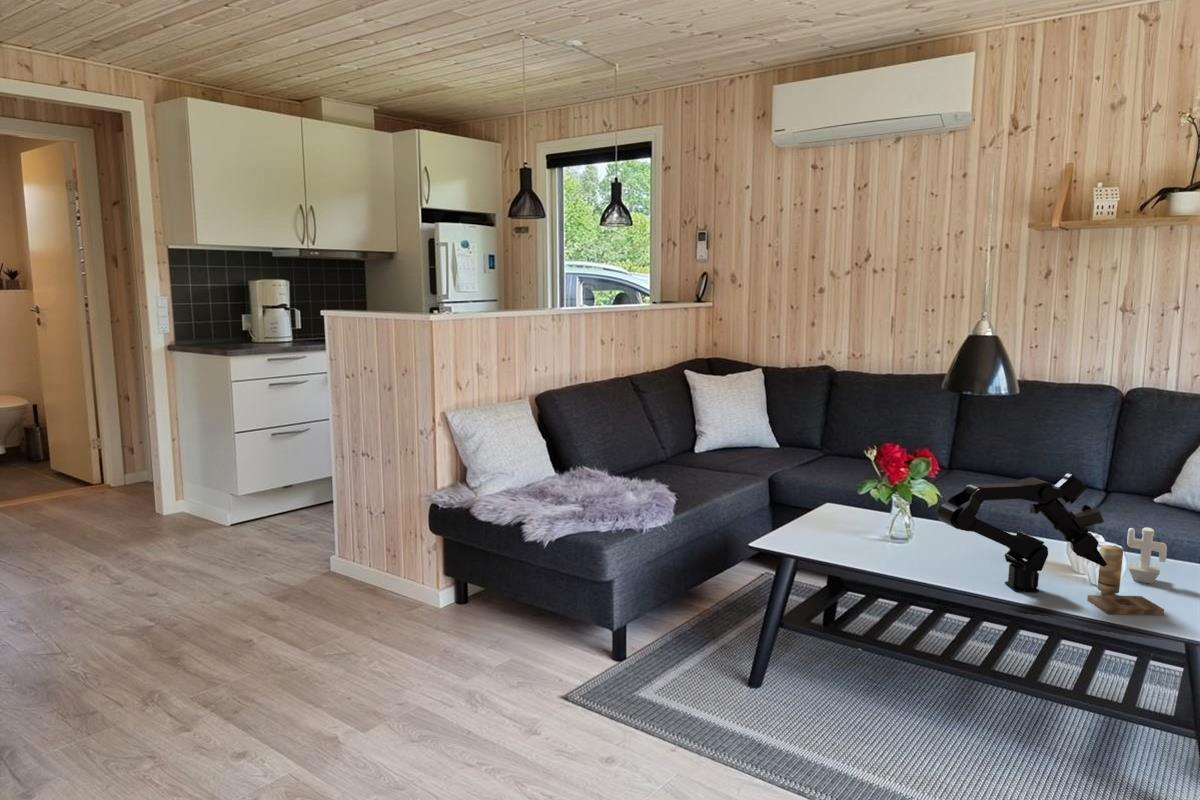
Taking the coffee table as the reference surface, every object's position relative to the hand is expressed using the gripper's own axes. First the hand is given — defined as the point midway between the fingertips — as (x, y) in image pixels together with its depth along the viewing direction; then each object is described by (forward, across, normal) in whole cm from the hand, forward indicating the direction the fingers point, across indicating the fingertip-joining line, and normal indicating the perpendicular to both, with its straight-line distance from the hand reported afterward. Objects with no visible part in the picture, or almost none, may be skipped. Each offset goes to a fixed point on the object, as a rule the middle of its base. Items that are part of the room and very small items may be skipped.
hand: (1101, 560), depth 219 cm
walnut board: (+10, -9, +4) cm, 14 cm away
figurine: (+17, +17, -3) cm, 24 cm away
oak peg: (+8, 0, +5) cm, 10 cm away
